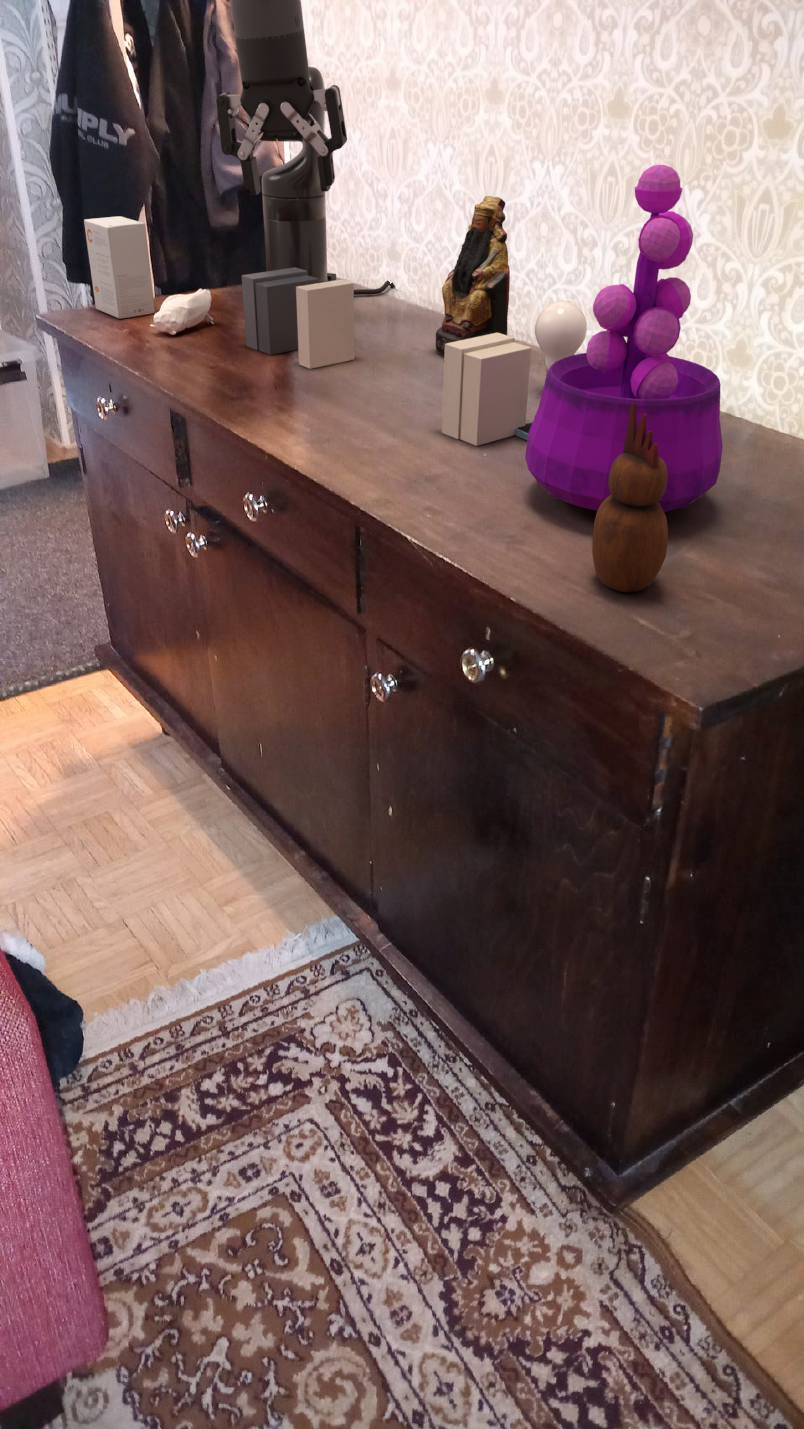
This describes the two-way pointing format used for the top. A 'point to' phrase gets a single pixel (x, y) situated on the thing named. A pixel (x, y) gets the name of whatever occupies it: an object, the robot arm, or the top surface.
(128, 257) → the small box
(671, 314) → the decorative plant
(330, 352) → the white book
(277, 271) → the grey books
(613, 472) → the wooden figurine
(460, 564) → the top surface
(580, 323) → the lightbulb
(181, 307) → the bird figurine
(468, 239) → the statue
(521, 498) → the top surface
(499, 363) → the white books
